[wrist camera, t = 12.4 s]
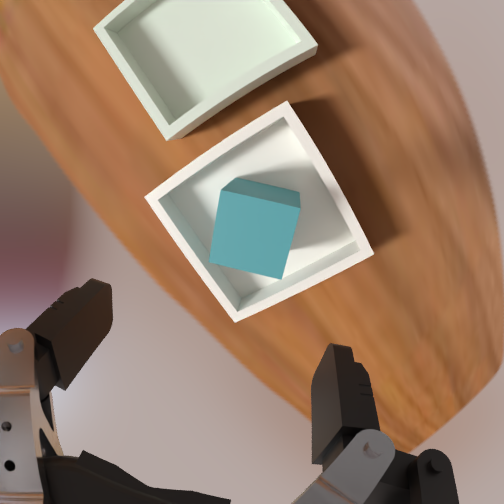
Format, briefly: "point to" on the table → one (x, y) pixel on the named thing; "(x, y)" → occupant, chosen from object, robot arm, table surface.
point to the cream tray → (272, 173)
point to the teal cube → (254, 227)
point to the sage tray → (200, 53)
